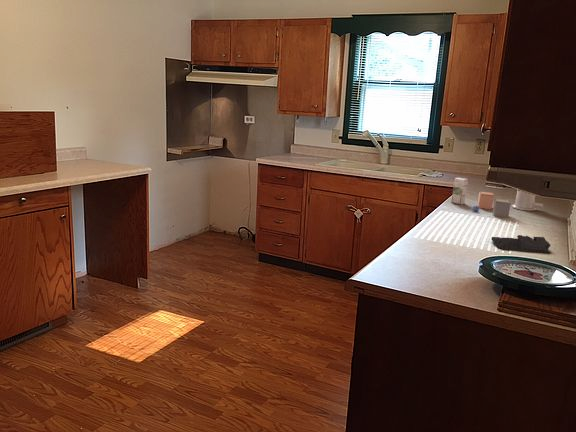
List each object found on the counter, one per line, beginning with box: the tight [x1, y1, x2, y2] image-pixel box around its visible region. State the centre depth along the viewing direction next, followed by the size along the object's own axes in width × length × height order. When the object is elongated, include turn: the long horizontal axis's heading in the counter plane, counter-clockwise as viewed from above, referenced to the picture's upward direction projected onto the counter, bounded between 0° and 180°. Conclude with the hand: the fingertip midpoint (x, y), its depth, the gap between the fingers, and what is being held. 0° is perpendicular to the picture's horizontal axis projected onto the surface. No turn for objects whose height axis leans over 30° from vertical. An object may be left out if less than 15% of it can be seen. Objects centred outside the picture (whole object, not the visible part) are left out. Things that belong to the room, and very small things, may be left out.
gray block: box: [492, 198, 512, 219], centre depth 261 cm, size 7×7×8 cm
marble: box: [472, 204, 480, 212], centre depth 268 cm, size 3×3×3 cm
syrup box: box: [451, 177, 469, 205], centre depth 286 cm, size 6×6×14 cm
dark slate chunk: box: [490, 234, 552, 255], centre depth 206 cm, size 15×22×5 cm
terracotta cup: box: [476, 191, 495, 210], centre depth 279 cm, size 7×7×8 cm
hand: (496, 153), depth 276 cm, fingers open, 9 cm apart
